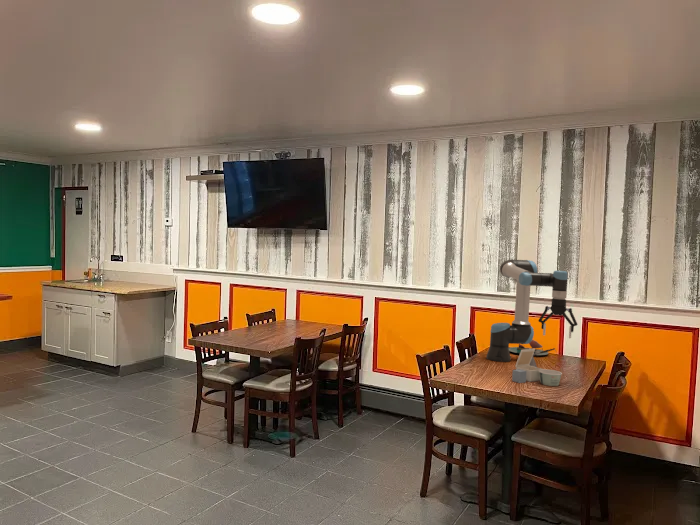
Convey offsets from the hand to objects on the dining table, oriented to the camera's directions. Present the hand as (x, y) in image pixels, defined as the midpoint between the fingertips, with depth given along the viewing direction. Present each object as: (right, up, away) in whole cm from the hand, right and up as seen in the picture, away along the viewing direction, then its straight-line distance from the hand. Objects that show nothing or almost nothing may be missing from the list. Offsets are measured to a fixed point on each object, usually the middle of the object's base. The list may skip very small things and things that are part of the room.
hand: (556, 336), depth 305 cm
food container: (-8, -24, -12) cm, 28 cm away
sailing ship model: (+8, -22, +76) cm, 80 cm away
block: (-24, -23, -10) cm, 35 cm away
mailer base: (-16, -23, -3) cm, 28 cm away
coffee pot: (-7, -23, +16) cm, 29 cm away
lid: (-17, -12, 0) cm, 21 cm away
